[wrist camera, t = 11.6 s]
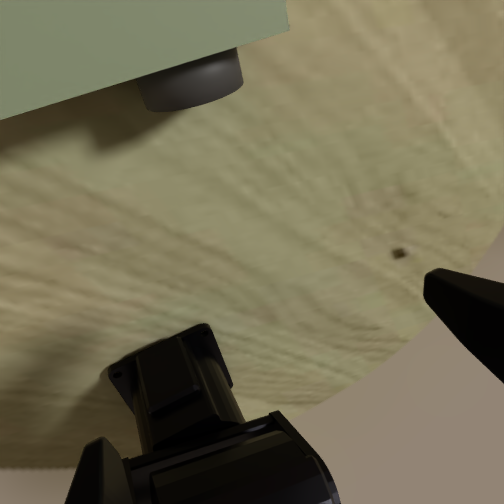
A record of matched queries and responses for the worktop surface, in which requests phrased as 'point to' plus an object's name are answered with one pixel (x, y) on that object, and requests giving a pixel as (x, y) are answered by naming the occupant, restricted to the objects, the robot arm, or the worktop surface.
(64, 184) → the worktop surface
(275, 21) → the block with end pegs
